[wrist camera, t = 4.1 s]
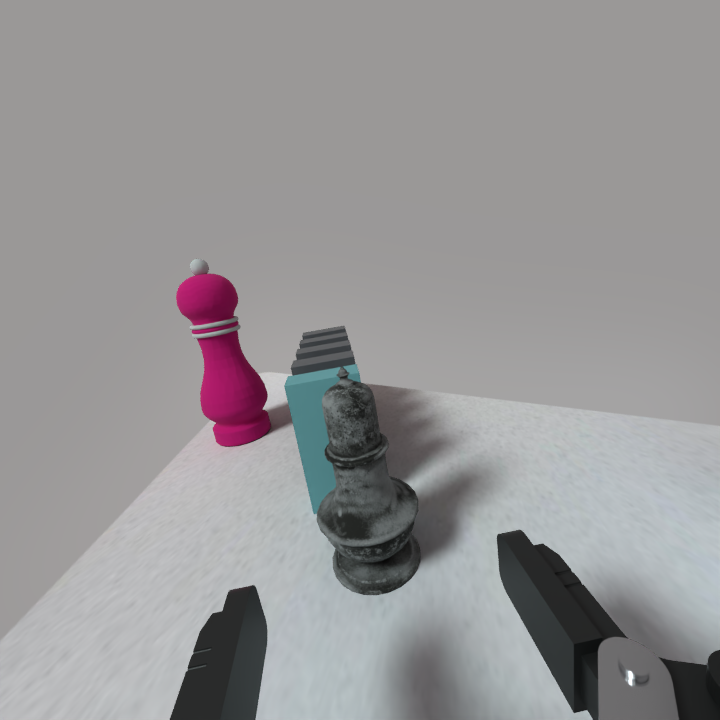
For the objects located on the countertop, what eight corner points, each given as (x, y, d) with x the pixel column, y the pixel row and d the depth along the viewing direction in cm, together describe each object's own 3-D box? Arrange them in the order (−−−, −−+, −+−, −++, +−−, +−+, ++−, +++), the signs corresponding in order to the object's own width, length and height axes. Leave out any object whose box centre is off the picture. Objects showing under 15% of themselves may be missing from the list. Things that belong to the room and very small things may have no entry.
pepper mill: (214, 430, 44) (166, 266, 39) (272, 414, 46) (233, 256, 41) (209, 456, 38) (150, 262, 32) (277, 437, 39) (232, 250, 34)
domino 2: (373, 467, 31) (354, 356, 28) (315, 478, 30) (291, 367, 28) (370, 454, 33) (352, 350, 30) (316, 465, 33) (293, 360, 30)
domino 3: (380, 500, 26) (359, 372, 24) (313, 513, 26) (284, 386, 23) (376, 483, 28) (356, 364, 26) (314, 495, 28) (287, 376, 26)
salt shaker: (405, 510, 25) (380, 344, 22) (442, 579, 19) (416, 368, 16) (322, 536, 24) (283, 365, 21) (336, 616, 18) (286, 398, 15)
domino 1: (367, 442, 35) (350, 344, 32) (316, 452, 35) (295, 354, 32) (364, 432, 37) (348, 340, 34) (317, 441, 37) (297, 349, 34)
